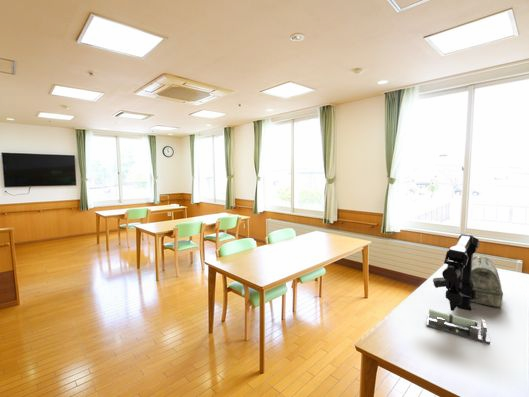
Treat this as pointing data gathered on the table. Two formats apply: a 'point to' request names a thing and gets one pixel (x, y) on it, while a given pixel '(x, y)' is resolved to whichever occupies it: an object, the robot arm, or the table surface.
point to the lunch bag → (486, 282)
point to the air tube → (451, 319)
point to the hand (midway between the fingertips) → (451, 306)
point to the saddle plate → (461, 329)
